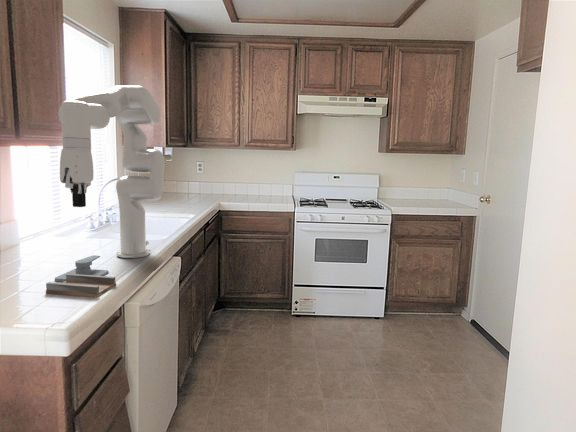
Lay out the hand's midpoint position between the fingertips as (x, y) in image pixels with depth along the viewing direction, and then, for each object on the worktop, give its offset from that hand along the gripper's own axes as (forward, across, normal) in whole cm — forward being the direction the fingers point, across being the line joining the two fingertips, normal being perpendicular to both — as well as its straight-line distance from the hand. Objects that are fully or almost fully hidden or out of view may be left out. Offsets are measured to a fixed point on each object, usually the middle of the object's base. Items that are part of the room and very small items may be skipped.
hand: (79, 206), depth 129 cm
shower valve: (+23, -20, -7) cm, 31 cm away
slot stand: (+26, +1, 0) cm, 26 cm away
